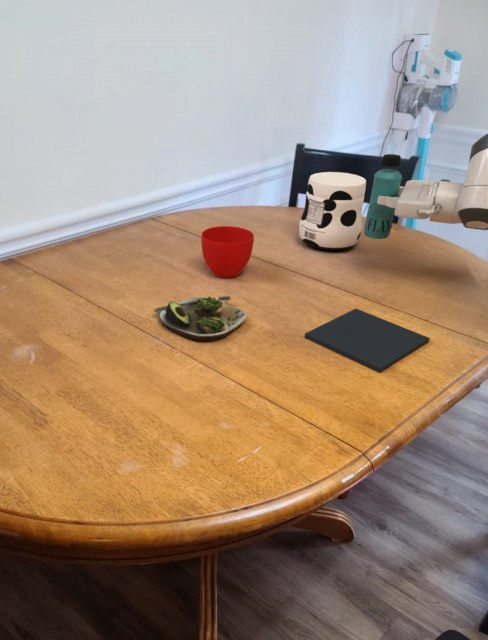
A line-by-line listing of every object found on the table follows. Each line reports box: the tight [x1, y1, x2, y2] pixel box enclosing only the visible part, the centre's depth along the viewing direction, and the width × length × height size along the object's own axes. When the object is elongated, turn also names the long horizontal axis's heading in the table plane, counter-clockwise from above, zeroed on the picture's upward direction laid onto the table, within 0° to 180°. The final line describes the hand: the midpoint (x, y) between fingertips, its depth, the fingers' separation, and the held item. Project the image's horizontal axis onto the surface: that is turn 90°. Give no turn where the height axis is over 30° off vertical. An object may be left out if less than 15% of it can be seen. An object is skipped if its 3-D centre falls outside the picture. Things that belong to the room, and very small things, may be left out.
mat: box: [304, 308, 431, 374], centre depth 116 cm, size 18×18×1 cm
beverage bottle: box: [363, 153, 403, 240], centre depth 134 cm, size 6×7×20 cm
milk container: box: [298, 171, 367, 251], centre depth 157 cm, size 17×17×18 cm
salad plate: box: [153, 295, 247, 343], centre depth 122 cm, size 19×18×5 cm
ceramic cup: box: [200, 225, 255, 278], centre depth 143 cm, size 13×17×10 cm
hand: (380, 194), depth 134 cm, fingers closed on beverage bottle, 6 cm apart
